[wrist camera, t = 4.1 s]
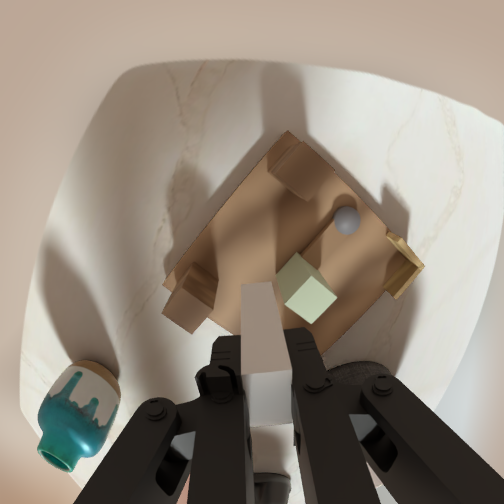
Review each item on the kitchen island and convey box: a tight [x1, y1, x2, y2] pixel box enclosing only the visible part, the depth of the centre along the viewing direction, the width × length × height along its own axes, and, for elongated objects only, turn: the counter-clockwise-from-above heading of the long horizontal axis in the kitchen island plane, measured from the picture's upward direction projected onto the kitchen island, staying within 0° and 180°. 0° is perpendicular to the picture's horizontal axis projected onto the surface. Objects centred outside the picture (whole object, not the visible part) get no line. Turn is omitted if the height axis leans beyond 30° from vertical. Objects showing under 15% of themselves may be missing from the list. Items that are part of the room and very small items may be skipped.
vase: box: [37, 360, 121, 472], centre depth 29 cm, size 11×11×19 cm
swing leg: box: [276, 206, 361, 324], centre depth 27 cm, size 4×11×7 cm, turn 140°
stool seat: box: [162, 130, 425, 355], centre depth 29 cm, size 22×22×9 cm
